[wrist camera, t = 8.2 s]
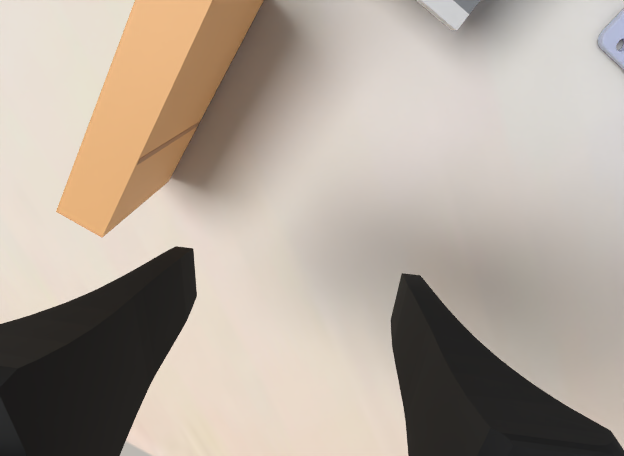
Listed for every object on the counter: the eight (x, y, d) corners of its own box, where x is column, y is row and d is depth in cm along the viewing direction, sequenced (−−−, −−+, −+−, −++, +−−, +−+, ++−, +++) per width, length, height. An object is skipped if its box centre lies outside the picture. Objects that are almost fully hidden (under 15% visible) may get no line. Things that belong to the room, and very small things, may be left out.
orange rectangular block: (169, 181, 22) (102, 237, 16) (136, 161, 21) (55, 211, 15) (267, -7, 17) (224, -25, 11) (227, -37, 16) (161, -73, 11)
